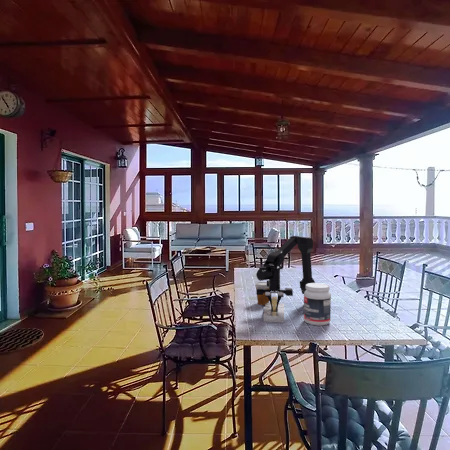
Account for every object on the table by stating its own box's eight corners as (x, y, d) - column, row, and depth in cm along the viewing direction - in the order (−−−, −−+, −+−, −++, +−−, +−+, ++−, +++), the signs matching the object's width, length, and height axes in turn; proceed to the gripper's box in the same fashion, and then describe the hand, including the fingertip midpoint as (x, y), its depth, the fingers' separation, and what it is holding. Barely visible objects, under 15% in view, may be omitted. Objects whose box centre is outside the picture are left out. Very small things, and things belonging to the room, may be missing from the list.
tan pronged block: (276, 309, 190) (276, 296, 190) (276, 313, 183) (276, 300, 183) (272, 309, 191) (272, 296, 190) (271, 313, 184) (271, 299, 184)
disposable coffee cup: (258, 306, 203) (258, 285, 203) (252, 302, 212) (252, 282, 212) (274, 305, 206) (274, 284, 205) (267, 301, 215) (267, 281, 214)
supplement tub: (298, 322, 175) (298, 285, 174) (312, 316, 184) (312, 281, 183) (321, 328, 166) (322, 289, 165) (335, 322, 175) (336, 285, 174)
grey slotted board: (284, 308, 198) (284, 303, 198) (284, 322, 175) (284, 316, 174) (265, 308, 200) (265, 302, 200) (263, 321, 176) (263, 315, 176)
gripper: (292, 275, 193) (292, 304, 194) (257, 274, 196) (257, 303, 197) (292, 279, 182) (292, 310, 183) (256, 278, 185) (256, 308, 186)
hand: (274, 307), depth 187 cm, fingers closed on tan pronged block, 2 cm apart
